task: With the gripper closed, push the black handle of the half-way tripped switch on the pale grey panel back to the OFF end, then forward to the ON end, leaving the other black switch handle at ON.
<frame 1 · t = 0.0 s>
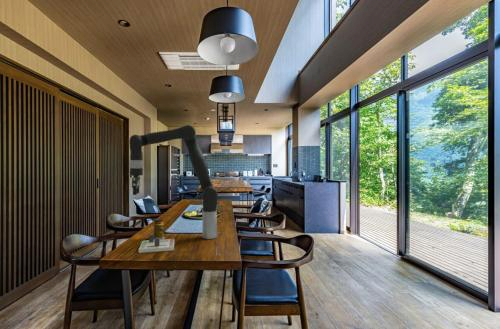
hand: (136, 194, 159), 29 cm above the table, tool pointing down, fingers open, 8 cm apart
condiment: (157, 238, 167), on the table
tripped breaker: (157, 241, 144), point 4 cm above the table, slide at 4.0 cm
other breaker: (151, 237, 152), point 4 cm above the table, slide at 8.0 cm
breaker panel: (157, 247, 149), on the table
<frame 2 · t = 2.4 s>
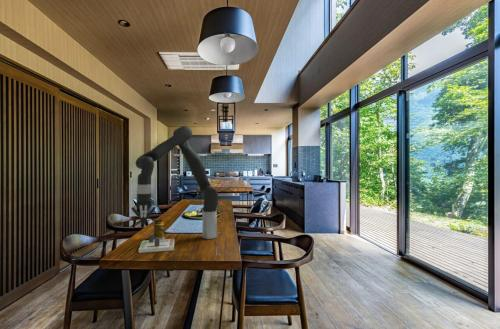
hand: (143, 223, 143), 15 cm above the table, tool pointing down, fingers closed
nothing on the table moved.
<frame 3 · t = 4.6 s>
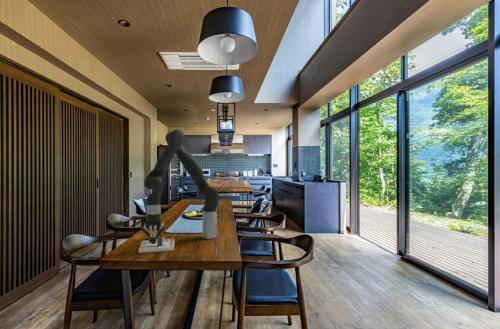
hand: (153, 243, 144), 3 cm above the table, tool pointing down, fingers closed
tripped breaker: (159, 241, 145), point 4 cm above the table, slide at 2.5 cm, touching gripper
everything else where it was.
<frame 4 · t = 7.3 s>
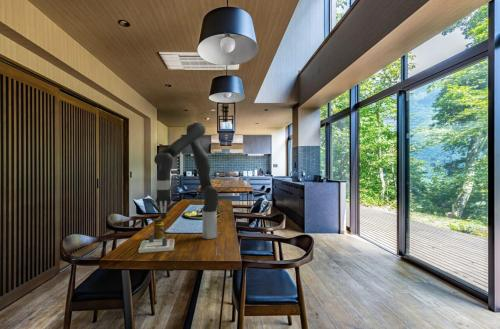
hand: (163, 219, 145), 17 cm above the table, tool pointing down, fingers closed
tripped breaker: (164, 241, 145), point 4 cm above the table, slide at 0.0 cm
everything else where it was.
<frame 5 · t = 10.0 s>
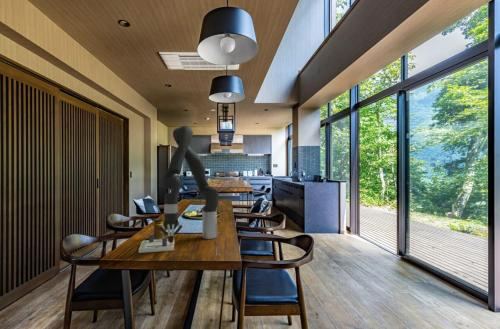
hand: (170, 242, 146), 4 cm above the table, tool pointing down, fingers closed
tripped breaker: (164, 241, 145), point 4 cm above the table, slide at 0.0 cm, touching gripper
everything else where it was.
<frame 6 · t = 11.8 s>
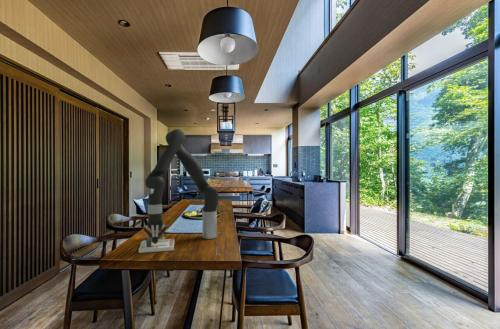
hand: (155, 243, 144), 4 cm above the table, tool pointing down, fingers closed
tripped breaker: (149, 242, 143), point 4 cm above the table, slide at 8.2 cm, touching gripper
everything else where it was.
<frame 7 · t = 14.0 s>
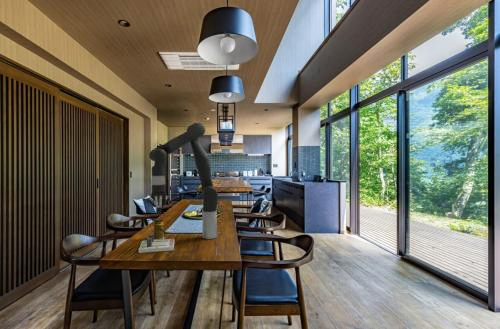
hand: (158, 214, 148), 19 cm above the table, tool pointing down, fingers closed
tripped breaker: (149, 242, 143), point 4 cm above the table, slide at 8.0 cm
everything else where it was.
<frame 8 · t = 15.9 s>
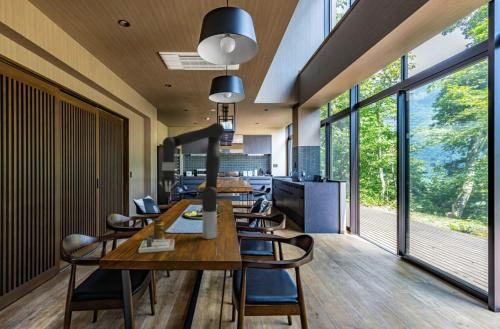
hand: (168, 197, 160), 27 cm above the table, tool pointing down, fingers closed
nothing on the table moved.
at the end: tripped breaker slide at 8.0 cm; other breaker slide at 8.0 cm; condiment moved 0.3 cm from its start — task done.
